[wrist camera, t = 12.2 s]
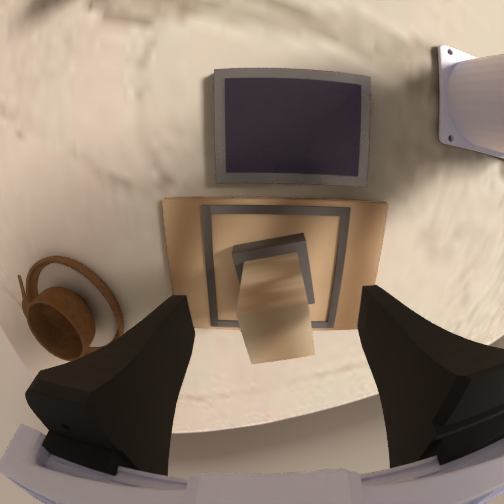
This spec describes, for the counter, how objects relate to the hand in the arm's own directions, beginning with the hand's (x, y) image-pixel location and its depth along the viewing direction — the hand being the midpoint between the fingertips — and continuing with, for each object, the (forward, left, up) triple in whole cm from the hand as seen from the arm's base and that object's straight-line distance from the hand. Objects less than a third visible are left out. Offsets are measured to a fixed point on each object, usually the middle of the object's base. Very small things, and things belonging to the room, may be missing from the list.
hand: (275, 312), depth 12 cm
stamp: (0, +3, -10) cm, 10 cm away
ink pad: (-1, -7, -10) cm, 13 cm away
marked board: (0, +3, -10) cm, 11 cm away
